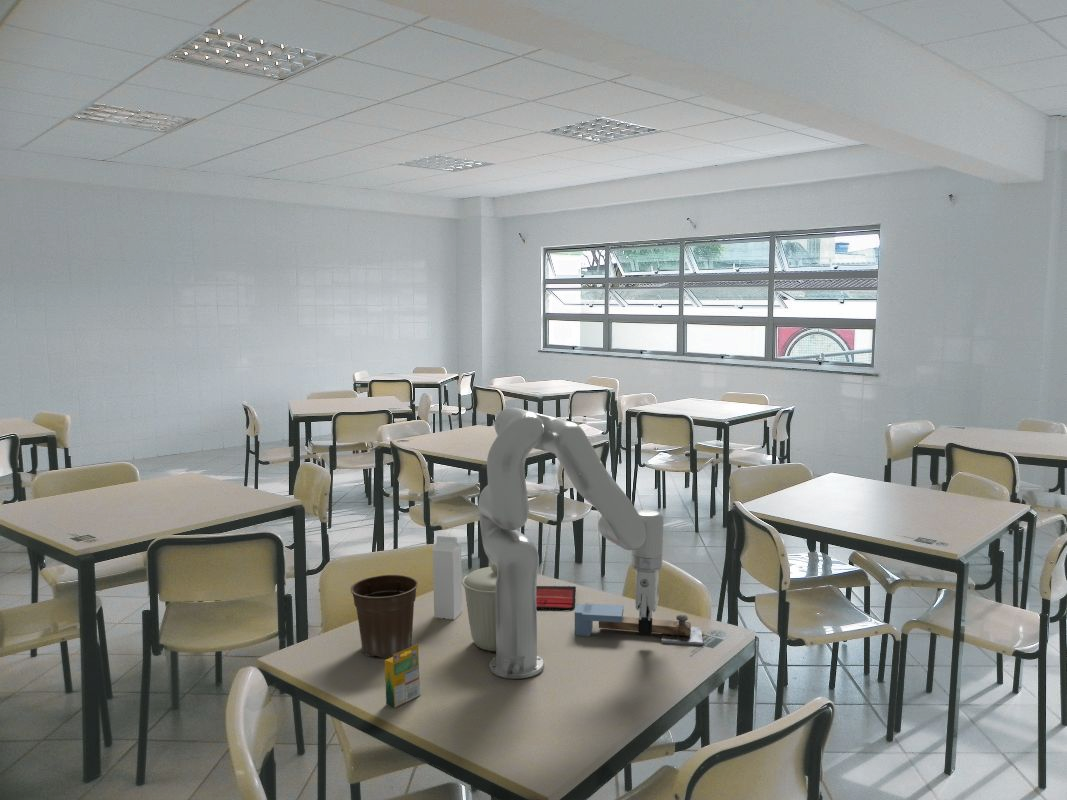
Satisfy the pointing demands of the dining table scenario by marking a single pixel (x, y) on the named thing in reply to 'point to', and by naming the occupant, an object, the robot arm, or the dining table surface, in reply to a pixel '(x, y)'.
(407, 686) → the crayon box
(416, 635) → the dining table surface
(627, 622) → the latch bar
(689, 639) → the pintle base
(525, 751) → the dining table surface
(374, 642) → the plant pot
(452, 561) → the milk
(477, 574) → the canister
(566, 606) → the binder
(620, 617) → the block
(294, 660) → the dining table surface
